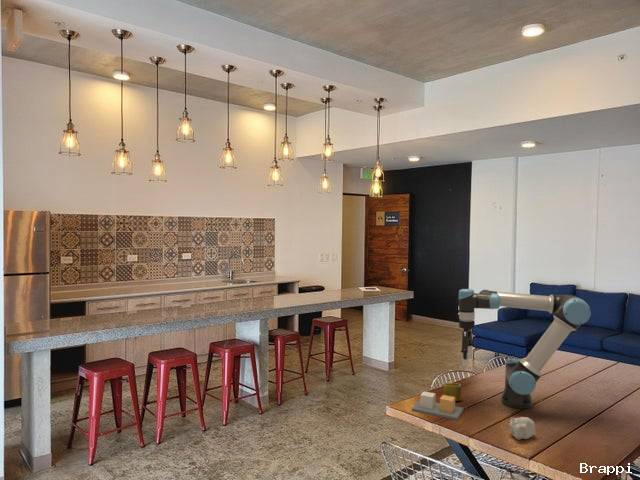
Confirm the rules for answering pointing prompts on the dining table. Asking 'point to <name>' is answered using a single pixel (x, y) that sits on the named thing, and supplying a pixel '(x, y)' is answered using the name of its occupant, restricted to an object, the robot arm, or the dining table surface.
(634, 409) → the dining table surface
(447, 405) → the light orange cube
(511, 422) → the white lumpy piece
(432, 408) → the board
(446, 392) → the mug
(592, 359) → the dining table surface
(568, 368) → the dining table surface
